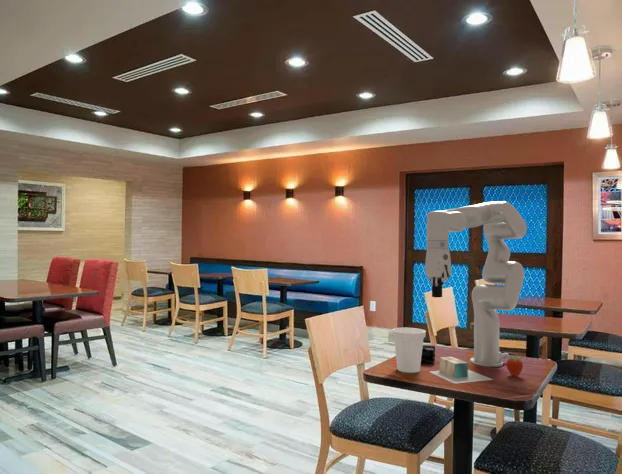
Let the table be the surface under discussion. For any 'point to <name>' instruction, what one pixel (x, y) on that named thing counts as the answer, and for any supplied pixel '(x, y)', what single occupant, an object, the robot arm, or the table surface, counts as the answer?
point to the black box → (428, 355)
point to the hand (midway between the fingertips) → (437, 297)
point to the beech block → (454, 367)
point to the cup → (408, 348)
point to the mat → (471, 377)
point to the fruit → (514, 366)
